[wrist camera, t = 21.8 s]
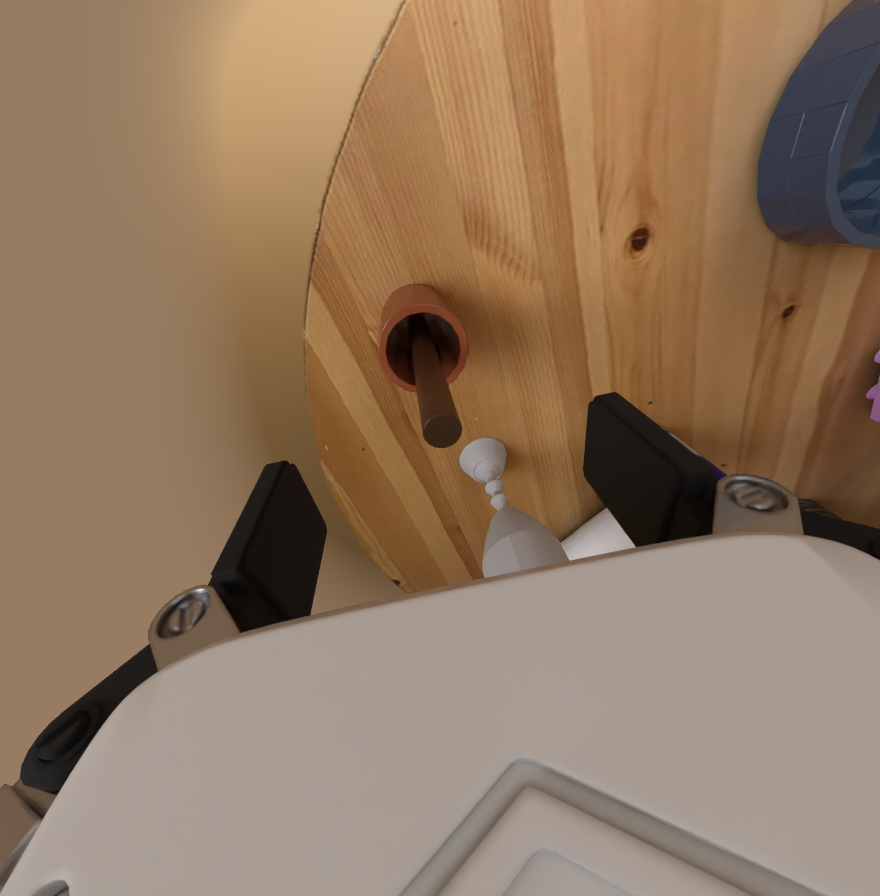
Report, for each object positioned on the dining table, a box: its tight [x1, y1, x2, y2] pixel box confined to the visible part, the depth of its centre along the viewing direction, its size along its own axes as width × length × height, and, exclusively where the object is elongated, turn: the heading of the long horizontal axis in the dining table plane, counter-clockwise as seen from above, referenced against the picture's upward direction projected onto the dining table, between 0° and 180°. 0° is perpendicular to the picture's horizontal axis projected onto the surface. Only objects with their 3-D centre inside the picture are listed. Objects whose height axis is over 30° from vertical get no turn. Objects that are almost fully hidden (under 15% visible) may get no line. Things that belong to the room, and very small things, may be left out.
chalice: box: [460, 438, 570, 578], centre depth 29 cm, size 7×7×18 cm
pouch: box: [560, 507, 635, 560], centre depth 44 cm, size 8×19×20 cm
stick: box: [408, 316, 462, 448], centre depth 21 cm, size 2×2×17 cm
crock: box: [378, 284, 468, 393], centre depth 25 cm, size 6×6×8 cm
